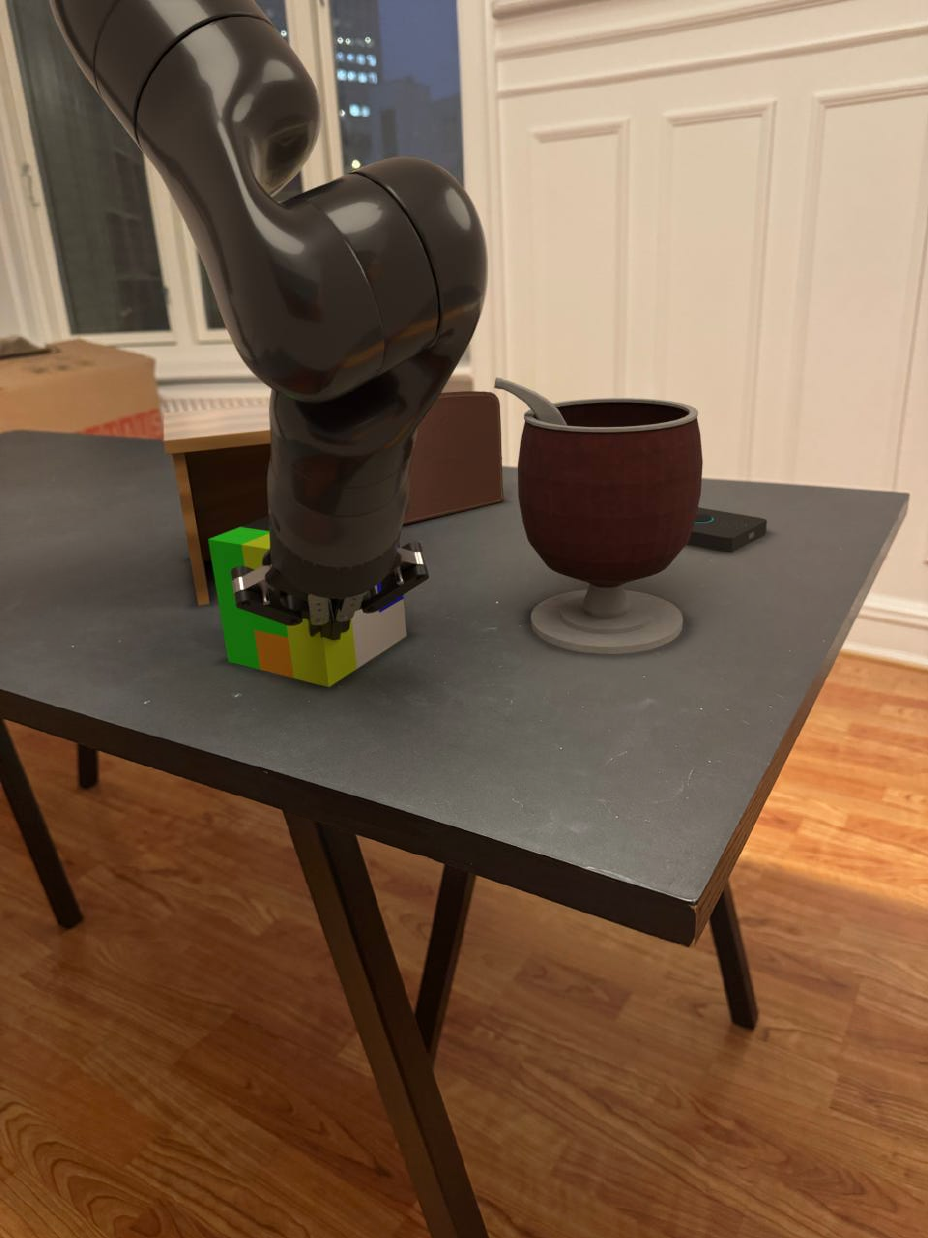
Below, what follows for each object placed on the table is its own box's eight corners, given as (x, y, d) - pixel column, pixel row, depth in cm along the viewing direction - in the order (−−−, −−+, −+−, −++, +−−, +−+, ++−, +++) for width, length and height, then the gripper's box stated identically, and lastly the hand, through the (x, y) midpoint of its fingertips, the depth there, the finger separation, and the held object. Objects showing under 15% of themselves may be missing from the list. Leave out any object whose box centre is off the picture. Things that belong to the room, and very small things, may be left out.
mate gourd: (672, 589, 79) (683, 356, 71) (712, 655, 66) (731, 380, 59) (498, 596, 79) (491, 365, 72) (505, 663, 67) (497, 391, 59)
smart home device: (731, 537, 86) (566, 506, 99) (730, 554, 87) (566, 521, 100) (770, 517, 92) (608, 490, 105) (768, 533, 92) (608, 504, 105)
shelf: (397, 578, 85) (384, 418, 79) (193, 608, 80) (163, 440, 74) (365, 535, 98) (352, 395, 92) (188, 559, 93) (162, 413, 87)
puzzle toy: (406, 636, 72) (397, 517, 68) (328, 687, 64) (313, 556, 60) (311, 616, 77) (297, 504, 73) (228, 662, 69) (208, 539, 65)
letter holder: (505, 502, 108) (501, 384, 103) (364, 537, 98) (352, 407, 92) (457, 488, 116) (451, 377, 110) (321, 518, 105) (308, 397, 100)
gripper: (437, 435, 52) (404, 570, 68) (204, 460, 49) (226, 597, 64) (468, 547, 49) (426, 661, 65) (224, 582, 46) (242, 693, 61)
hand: (327, 629), depth 64 cm, fingers closed
